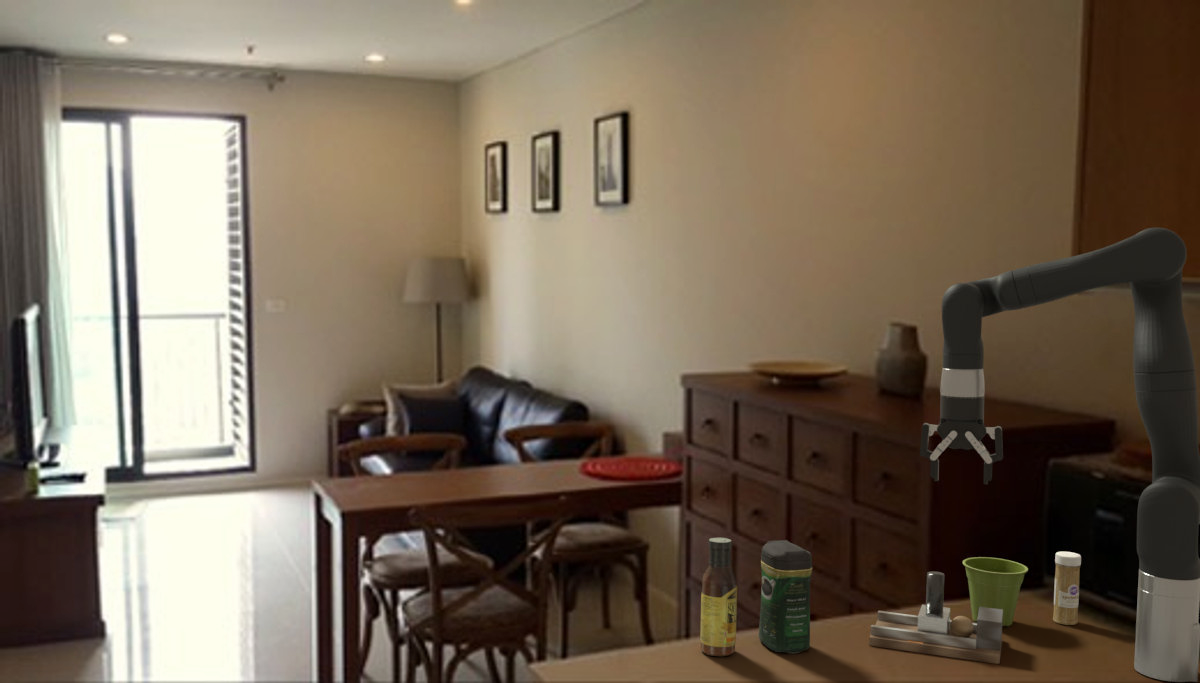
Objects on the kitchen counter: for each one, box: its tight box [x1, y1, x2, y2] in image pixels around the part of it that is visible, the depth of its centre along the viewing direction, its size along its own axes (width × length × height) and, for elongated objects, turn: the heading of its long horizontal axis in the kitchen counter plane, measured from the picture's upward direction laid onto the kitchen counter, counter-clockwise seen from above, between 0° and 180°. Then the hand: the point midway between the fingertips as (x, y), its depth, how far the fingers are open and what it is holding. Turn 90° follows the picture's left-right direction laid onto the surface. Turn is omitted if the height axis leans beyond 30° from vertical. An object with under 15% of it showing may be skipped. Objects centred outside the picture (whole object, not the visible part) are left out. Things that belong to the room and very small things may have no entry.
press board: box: [868, 607, 1003, 665], centre depth 195 cm, size 22×13×6 cm, turn 68°
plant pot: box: [962, 556, 1029, 627], centre depth 207 cm, size 12×12×11 cm
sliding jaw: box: [917, 571, 951, 635], centre depth 195 cm, size 5×7×11 cm
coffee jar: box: [758, 539, 813, 654], centre depth 192 cm, size 10×8×19 cm
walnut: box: [950, 615, 974, 638], centre depth 194 cm, size 4×4×4 cm
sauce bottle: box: [699, 537, 738, 657], centre depth 189 cm, size 7×6×20 cm
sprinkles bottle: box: [1052, 550, 1082, 626], centre depth 208 cm, size 5×5×14 cm
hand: (960, 481), depth 196 cm, fingers open, 8 cm apart
